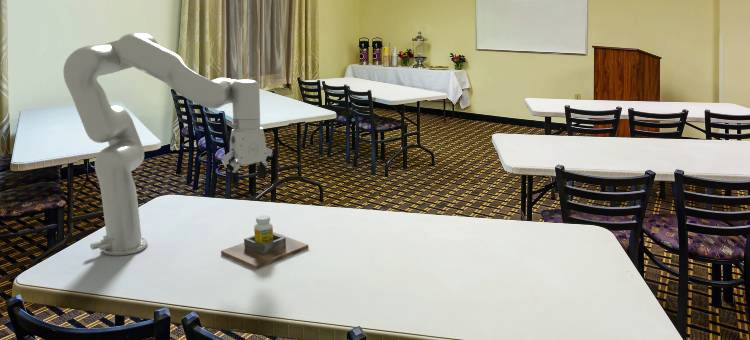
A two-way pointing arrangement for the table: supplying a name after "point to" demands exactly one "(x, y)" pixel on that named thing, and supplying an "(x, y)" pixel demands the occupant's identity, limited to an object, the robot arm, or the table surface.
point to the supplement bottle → (263, 230)
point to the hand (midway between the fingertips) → (248, 181)
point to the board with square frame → (264, 251)
